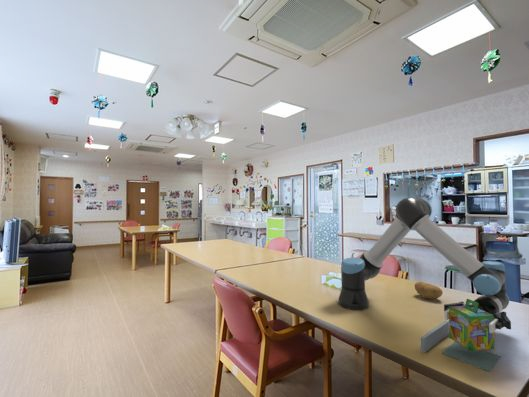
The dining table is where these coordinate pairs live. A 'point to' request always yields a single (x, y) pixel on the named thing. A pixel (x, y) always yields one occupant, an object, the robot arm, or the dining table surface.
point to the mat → (472, 356)
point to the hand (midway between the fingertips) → (466, 321)
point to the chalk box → (471, 326)
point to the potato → (428, 290)
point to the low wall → (434, 336)
